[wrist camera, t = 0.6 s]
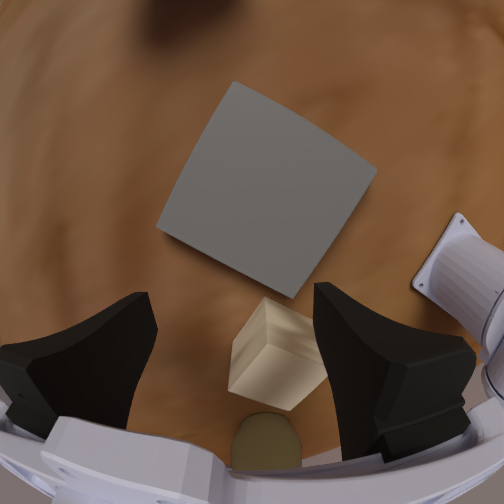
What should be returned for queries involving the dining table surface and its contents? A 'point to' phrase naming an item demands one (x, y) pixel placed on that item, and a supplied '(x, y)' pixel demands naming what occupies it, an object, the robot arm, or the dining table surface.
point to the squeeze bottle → (266, 444)
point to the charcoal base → (265, 191)
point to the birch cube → (276, 357)
